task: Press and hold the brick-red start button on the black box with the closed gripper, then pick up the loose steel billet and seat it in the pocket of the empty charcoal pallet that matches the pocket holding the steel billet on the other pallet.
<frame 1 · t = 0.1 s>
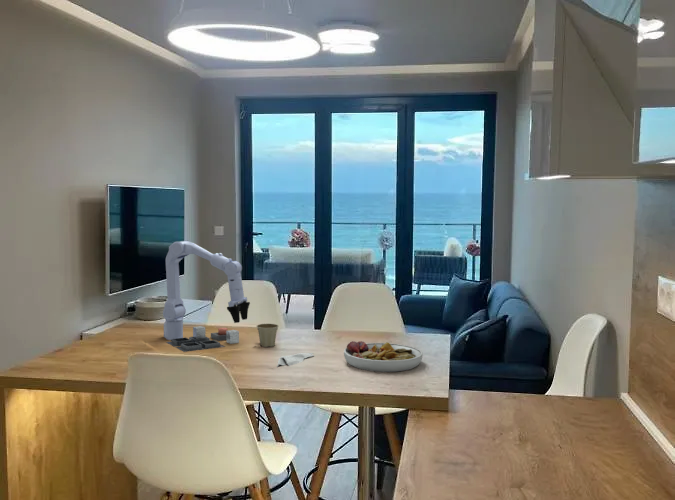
hand: (240, 321, 268), 11 cm above the table, tool pointing down, fingers open, 7 cm apart
start button: (222, 331, 277), point 4 cm above the table, slide at 0.0 cm
cloth: (293, 361, 245), on the table
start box: (222, 340, 278), on the table
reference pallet: (190, 344, 269), on the table
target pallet: (200, 349, 260), on the table
bowl: (382, 364, 241), on the table
flower pot: (267, 346, 269), on the table
billet: (232, 344, 270), on the table
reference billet: (199, 341, 271), point 1 cm above the table, touching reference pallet
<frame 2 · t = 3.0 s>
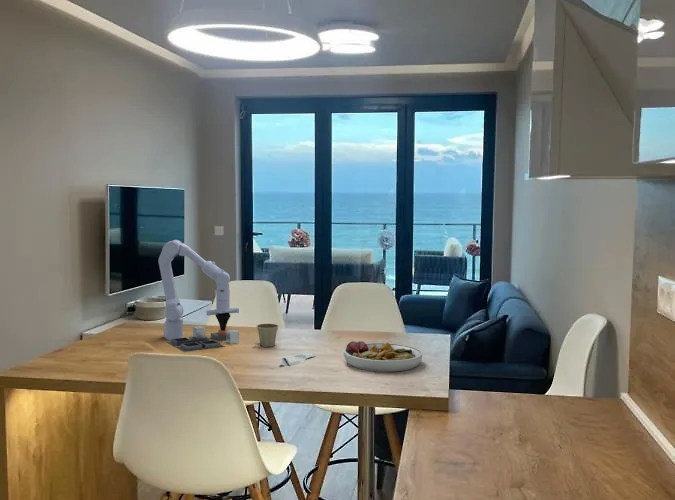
hand: (222, 330, 277), 5 cm above the table, tool pointing down, fingers closed, pressing on start button
start button: (222, 332, 277), point 3 cm above the table, slide at 0.7 cm, touching gripper
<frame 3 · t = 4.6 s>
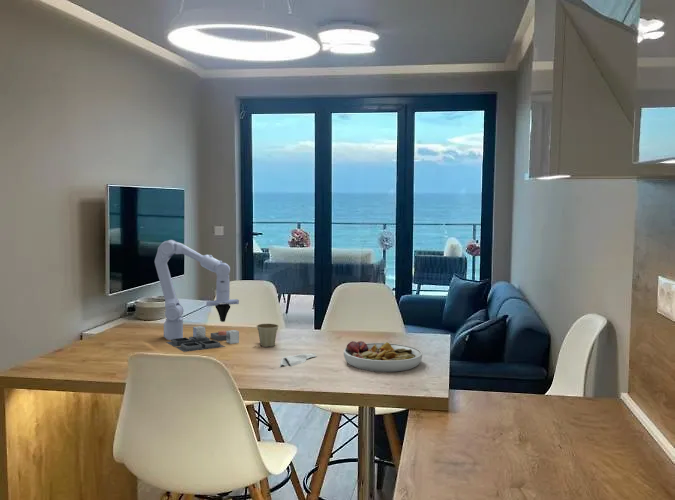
hand: (222, 321, 277), 9 cm above the table, tool pointing down, fingers closed
start button: (222, 334, 278), point 3 cm above the table, slide at 1.3 cm
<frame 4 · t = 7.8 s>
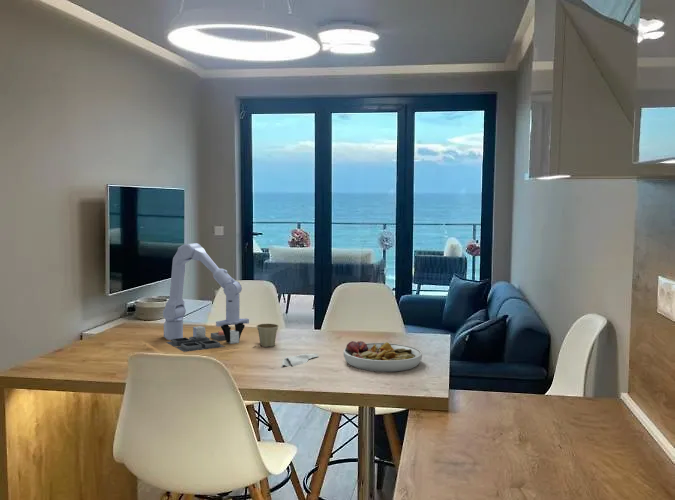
hand: (232, 341, 269), 1 cm above the table, tool pointing down, fingers closed on billet, 4 cm apart
billet: (232, 344, 270), on the table, touching gripper
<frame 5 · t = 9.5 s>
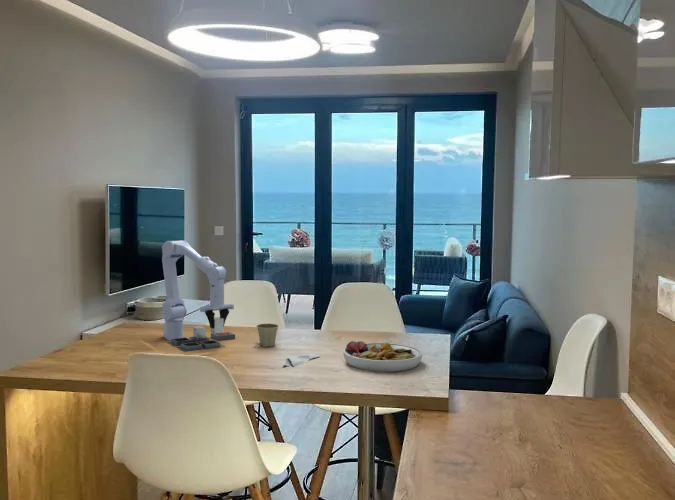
hand: (217, 327, 264), 8 cm above the table, tool pointing down, fingers closed on billet, 4 cm apart
billet: (217, 332, 264), point 6 cm above the table, touching gripper
when the fingers open (3 cm above the table, at t = 11.5 s): billet stays where it is, resting on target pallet.
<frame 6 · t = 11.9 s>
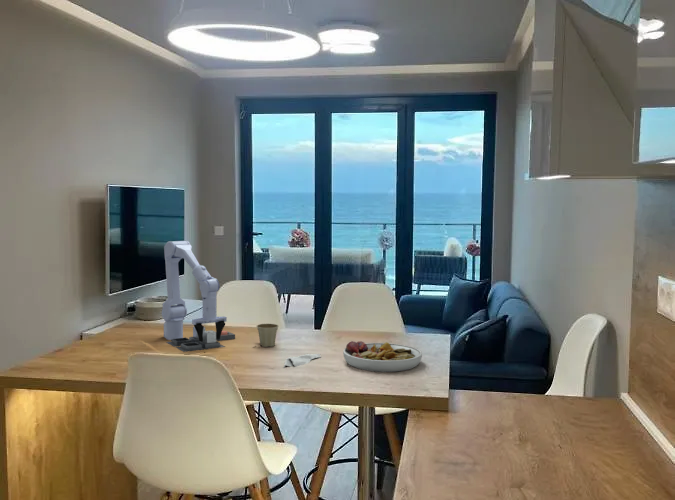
hand: (209, 340, 262), 3 cm above the table, tool pointing down, fingers open, 7 cm apart
billet: (209, 345, 262), point 1 cm above the table, touching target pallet
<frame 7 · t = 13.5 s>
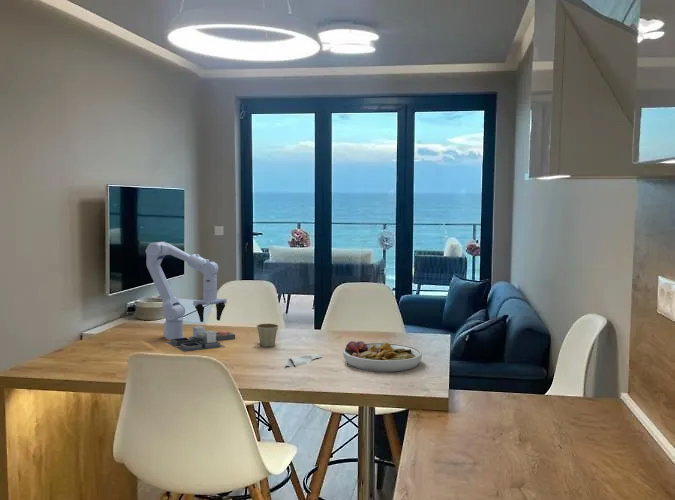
hand: (210, 321, 273), 9 cm above the table, tool pointing down, fingers open, 7 cm apart
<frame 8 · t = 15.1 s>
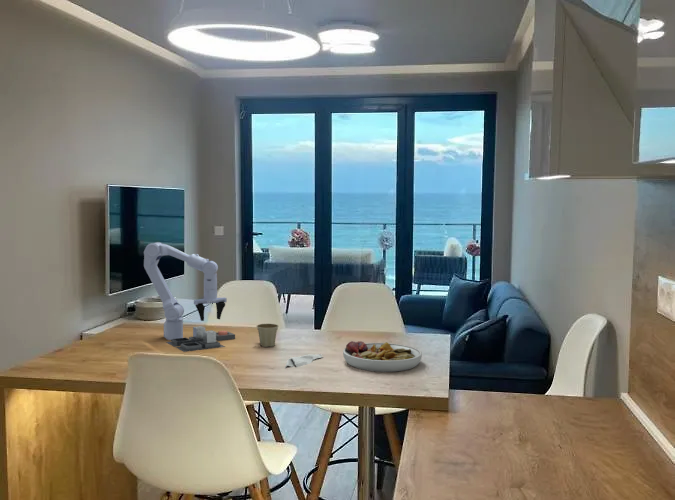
hand: (210, 319, 276), 9 cm above the table, tool pointing down, fingers open, 7 cm apart
at the end: billet 0.0 cm from the target spot on the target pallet, point 1.0 cm above the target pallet's base; billet tilted 0°; start button slide at 1.3 cm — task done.
